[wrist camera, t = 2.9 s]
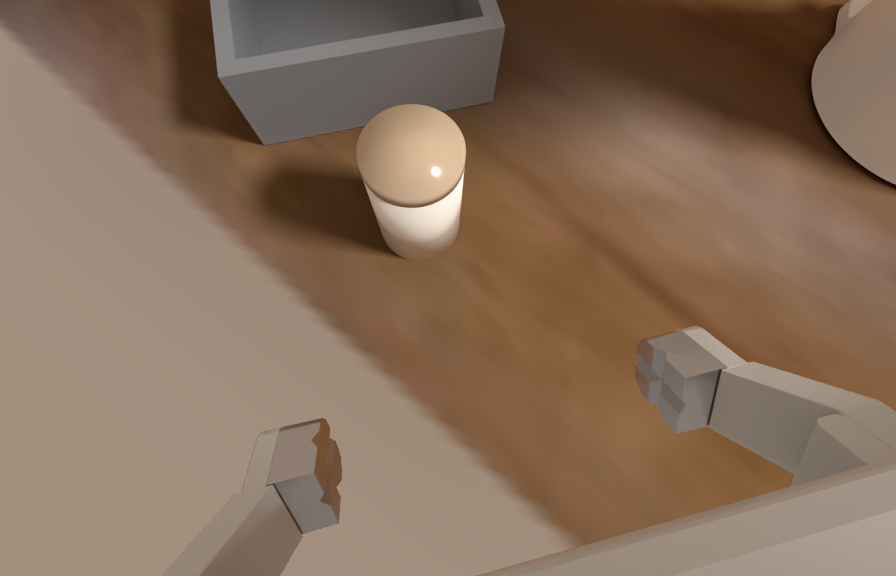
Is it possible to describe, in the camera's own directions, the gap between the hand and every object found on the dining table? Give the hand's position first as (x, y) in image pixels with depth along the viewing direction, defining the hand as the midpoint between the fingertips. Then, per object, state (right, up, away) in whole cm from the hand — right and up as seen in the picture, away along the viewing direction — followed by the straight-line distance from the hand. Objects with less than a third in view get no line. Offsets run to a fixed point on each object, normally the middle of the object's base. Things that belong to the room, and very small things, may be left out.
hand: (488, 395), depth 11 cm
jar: (-3, +7, +16) cm, 18 cm away
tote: (-7, +20, +20) cm, 29 cm away
